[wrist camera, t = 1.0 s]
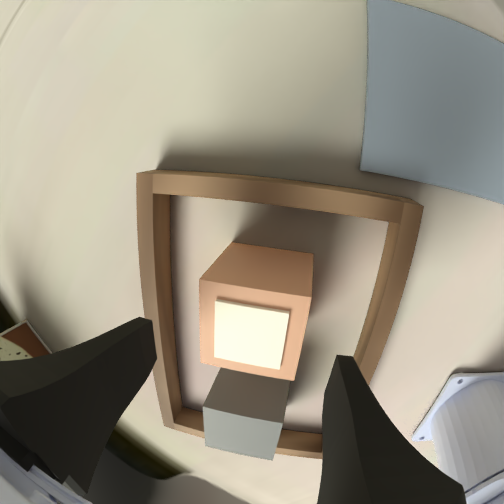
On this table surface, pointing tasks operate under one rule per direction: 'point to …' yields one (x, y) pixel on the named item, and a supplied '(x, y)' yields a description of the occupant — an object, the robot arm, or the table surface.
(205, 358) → the labelled block
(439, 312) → the table surface
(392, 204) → the walnut bin
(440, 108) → the slate mat
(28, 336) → the food container
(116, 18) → the table surface
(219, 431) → the plain block
